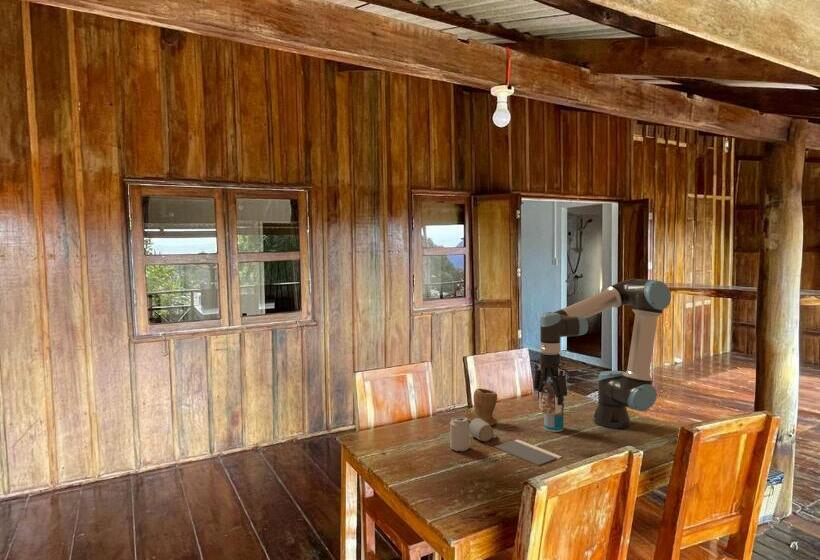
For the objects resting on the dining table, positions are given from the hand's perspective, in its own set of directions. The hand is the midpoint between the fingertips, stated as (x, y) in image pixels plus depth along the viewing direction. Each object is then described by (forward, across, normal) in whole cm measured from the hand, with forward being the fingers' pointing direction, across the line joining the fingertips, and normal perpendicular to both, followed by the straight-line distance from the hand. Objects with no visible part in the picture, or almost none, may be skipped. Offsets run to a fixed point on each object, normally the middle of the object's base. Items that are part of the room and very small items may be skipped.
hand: (550, 410), depth 211 cm
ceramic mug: (+14, -21, -16) cm, 30 cm away
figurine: (+1, 0, 0) cm, 1 cm away
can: (+14, -18, -31) cm, 39 cm away
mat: (+14, 0, -14) cm, 20 cm away
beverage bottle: (+14, -11, +16) cm, 24 cm away
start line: (+14, 0, -7) cm, 16 cm away
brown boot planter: (+14, -36, -3) cm, 39 cm away
